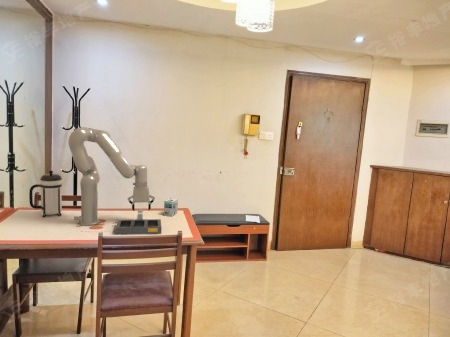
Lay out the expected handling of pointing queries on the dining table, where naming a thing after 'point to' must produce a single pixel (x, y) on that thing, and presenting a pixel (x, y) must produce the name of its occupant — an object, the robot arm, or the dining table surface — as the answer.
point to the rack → (138, 226)
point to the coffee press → (49, 194)
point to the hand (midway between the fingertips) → (141, 210)
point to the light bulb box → (170, 207)
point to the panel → (140, 215)
